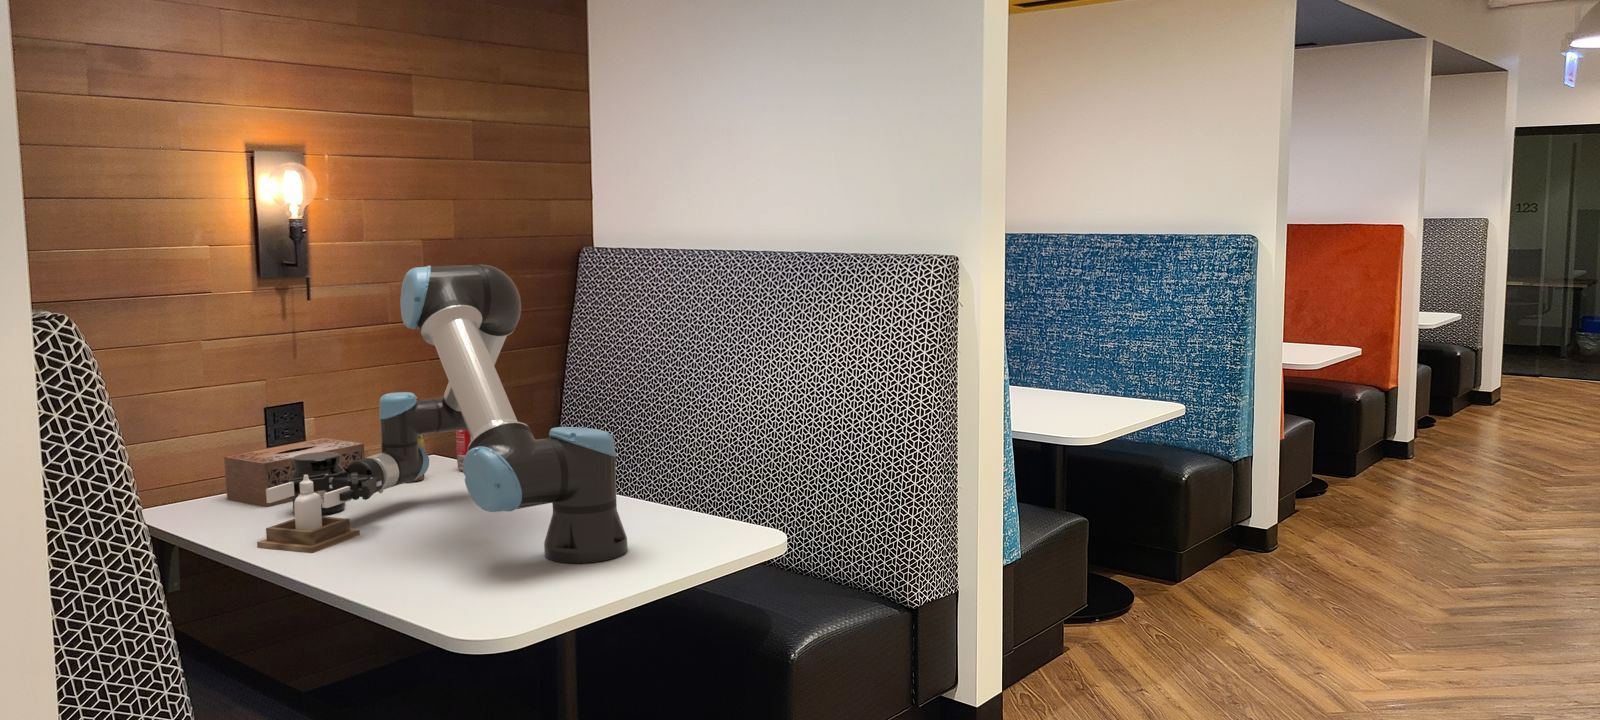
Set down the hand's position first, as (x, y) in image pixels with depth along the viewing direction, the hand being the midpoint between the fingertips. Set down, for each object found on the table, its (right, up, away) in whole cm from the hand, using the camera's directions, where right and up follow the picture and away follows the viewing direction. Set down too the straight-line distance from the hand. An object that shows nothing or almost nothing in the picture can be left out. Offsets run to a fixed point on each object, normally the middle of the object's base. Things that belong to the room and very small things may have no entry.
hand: (296, 498), depth 224 cm
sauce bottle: (+3, -3, +57) cm, 57 cm away
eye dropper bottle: (+1, -8, +4) cm, 9 cm away
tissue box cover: (-19, -4, +46) cm, 50 cm away
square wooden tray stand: (+1, -9, +4) cm, 9 cm away
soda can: (+15, -1, +68) cm, 69 cm away
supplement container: (-7, -6, +27) cm, 29 cm away
